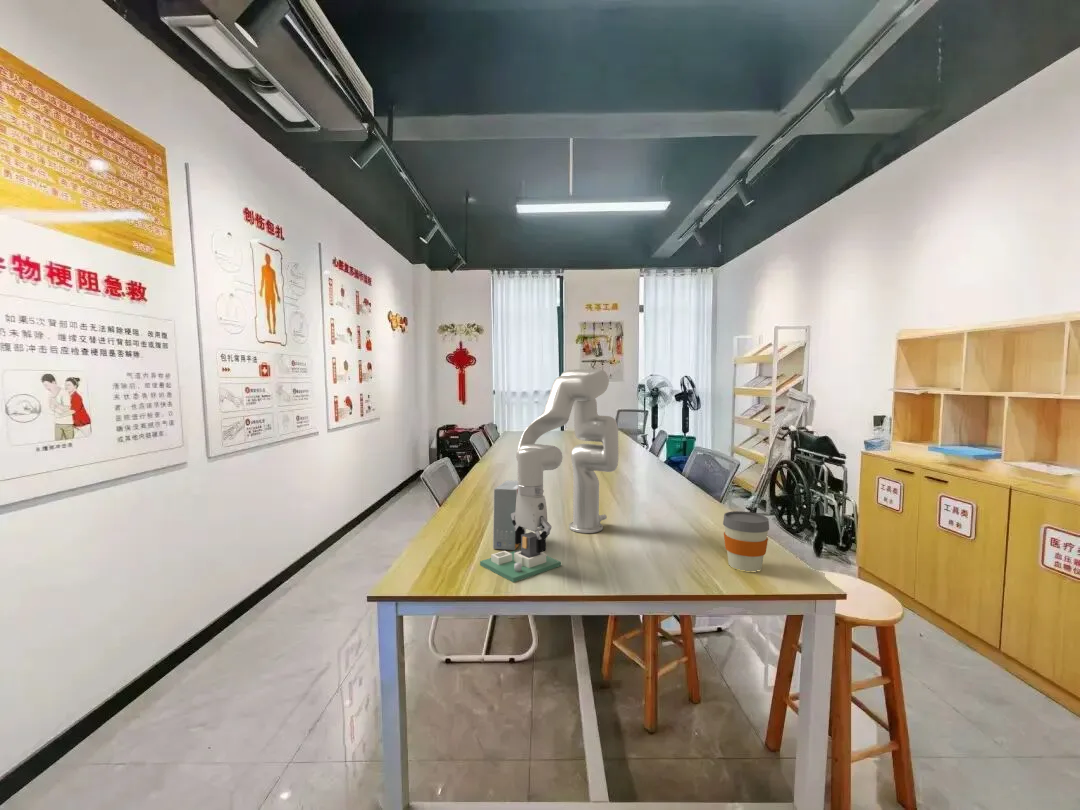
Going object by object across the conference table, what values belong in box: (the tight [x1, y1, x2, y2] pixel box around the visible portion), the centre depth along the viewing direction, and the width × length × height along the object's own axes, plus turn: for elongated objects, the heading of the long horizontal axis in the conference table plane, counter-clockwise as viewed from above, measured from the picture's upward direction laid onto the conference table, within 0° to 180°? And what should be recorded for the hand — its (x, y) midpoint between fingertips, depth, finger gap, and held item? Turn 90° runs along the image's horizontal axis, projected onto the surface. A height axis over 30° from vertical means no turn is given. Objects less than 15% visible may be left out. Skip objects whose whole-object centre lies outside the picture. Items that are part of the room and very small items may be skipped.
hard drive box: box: [492, 479, 527, 551], centre depth 160 cm, size 16×8×20 cm, turn 168°
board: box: [479, 548, 562, 583], centre depth 140 cm, size 18×16×3 cm
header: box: [514, 551, 547, 568], centre depth 139 cm, size 7×7×2 cm
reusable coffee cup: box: [722, 510, 770, 571], centre depth 139 cm, size 13×13×15 cm
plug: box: [520, 531, 540, 558], centre depth 139 cm, size 4×4×8 cm
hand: (530, 547), depth 139 cm, fingers open, 9 cm apart
